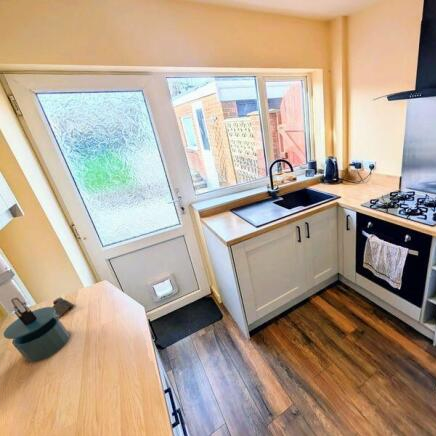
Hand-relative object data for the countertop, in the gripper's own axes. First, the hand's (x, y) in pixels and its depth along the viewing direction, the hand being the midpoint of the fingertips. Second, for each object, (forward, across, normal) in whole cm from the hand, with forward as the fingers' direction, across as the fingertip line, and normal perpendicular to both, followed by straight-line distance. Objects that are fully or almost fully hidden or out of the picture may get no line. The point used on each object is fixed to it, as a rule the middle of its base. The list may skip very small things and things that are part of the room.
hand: (28, 319), depth 86 cm
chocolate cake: (+14, -20, +9) cm, 26 cm away
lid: (+1, 0, 0) cm, 1 cm away
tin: (+14, 0, 0) cm, 14 cm away
